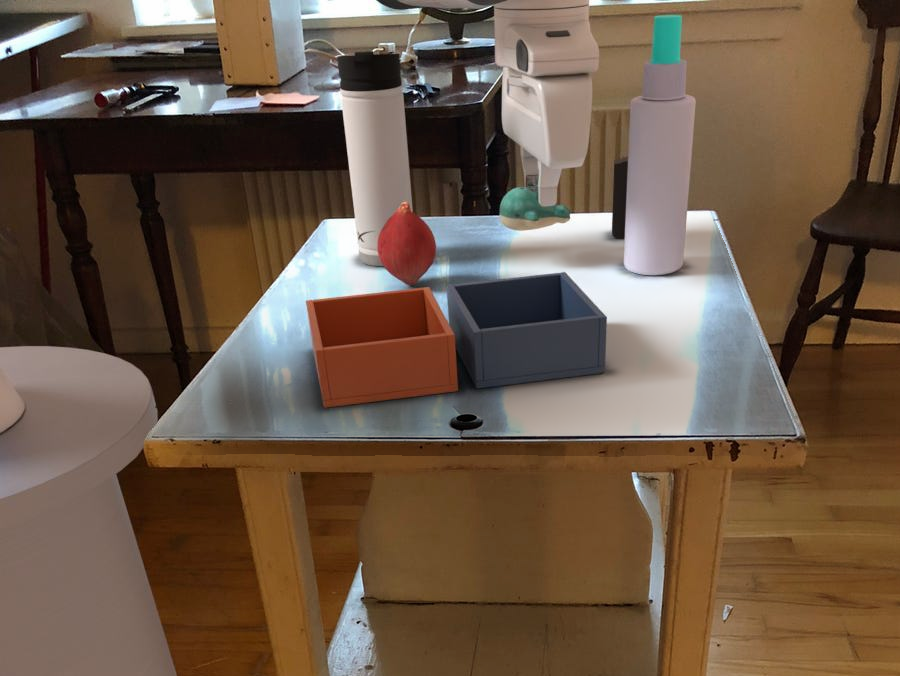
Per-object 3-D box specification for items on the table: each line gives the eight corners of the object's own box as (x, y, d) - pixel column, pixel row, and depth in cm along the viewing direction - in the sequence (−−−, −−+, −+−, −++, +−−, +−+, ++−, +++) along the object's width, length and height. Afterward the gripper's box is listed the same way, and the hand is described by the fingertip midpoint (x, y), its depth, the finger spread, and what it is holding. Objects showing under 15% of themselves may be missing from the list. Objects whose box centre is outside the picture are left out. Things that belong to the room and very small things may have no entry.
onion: (376, 294, 98) (367, 209, 93) (388, 276, 102) (380, 195, 97) (432, 294, 97) (426, 209, 92) (442, 276, 102) (437, 194, 97)
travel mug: (355, 268, 105) (330, 54, 93) (363, 251, 110) (340, 45, 98) (413, 266, 105) (395, 50, 92) (418, 249, 110) (402, 42, 98)
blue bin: (476, 389, 78) (473, 332, 75) (449, 336, 87) (446, 284, 85) (605, 372, 79) (607, 316, 76) (564, 323, 89) (565, 271, 86)
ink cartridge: (655, 232, 111) (660, 155, 106) (656, 237, 109) (661, 160, 104) (611, 233, 112) (614, 156, 107) (611, 238, 110) (614, 161, 105)
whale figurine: (502, 219, 104) (502, 181, 102) (571, 220, 103) (572, 181, 101) (497, 234, 99) (496, 194, 97) (569, 234, 99) (570, 194, 96)
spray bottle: (627, 278, 98) (639, 21, 85) (620, 260, 103) (629, 15, 90) (687, 275, 98) (708, 17, 85) (677, 257, 103) (695, 11, 90)
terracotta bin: (324, 408, 76) (315, 350, 73) (313, 352, 86) (305, 300, 83) (458, 391, 78) (454, 334, 75) (433, 338, 87) (429, 286, 84)
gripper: (485, 33, 100) (489, 180, 108) (535, 56, 84) (534, 226, 92) (545, 30, 101) (544, 175, 109) (605, 52, 84) (599, 220, 93)
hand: (540, 199), depth 100 cm, fingers closed on whale figurine, 3 cm apart
